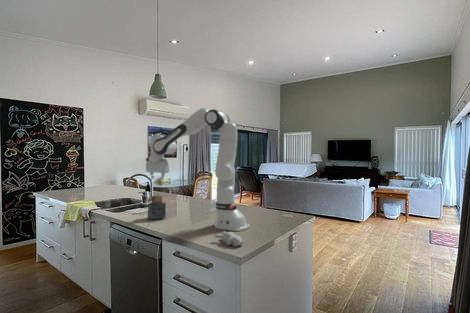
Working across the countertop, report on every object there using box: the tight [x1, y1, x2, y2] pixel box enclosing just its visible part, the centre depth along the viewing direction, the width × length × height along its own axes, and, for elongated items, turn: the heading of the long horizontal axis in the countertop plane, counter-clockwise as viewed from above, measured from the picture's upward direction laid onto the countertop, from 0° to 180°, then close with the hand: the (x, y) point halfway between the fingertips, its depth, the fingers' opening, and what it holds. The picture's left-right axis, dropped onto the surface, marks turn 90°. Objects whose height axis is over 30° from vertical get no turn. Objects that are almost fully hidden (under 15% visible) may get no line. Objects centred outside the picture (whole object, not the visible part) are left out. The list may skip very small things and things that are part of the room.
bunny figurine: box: [214, 230, 244, 248], centre depth 135 cm, size 10×5×15 cm
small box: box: [147, 202, 167, 221], centre depth 183 cm, size 11×6×10 cm, turn 85°
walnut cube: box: [150, 194, 163, 204], centre depth 183 cm, size 5×5×5 cm
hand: (157, 179), depth 183 cm, fingers open, 8 cm apart
